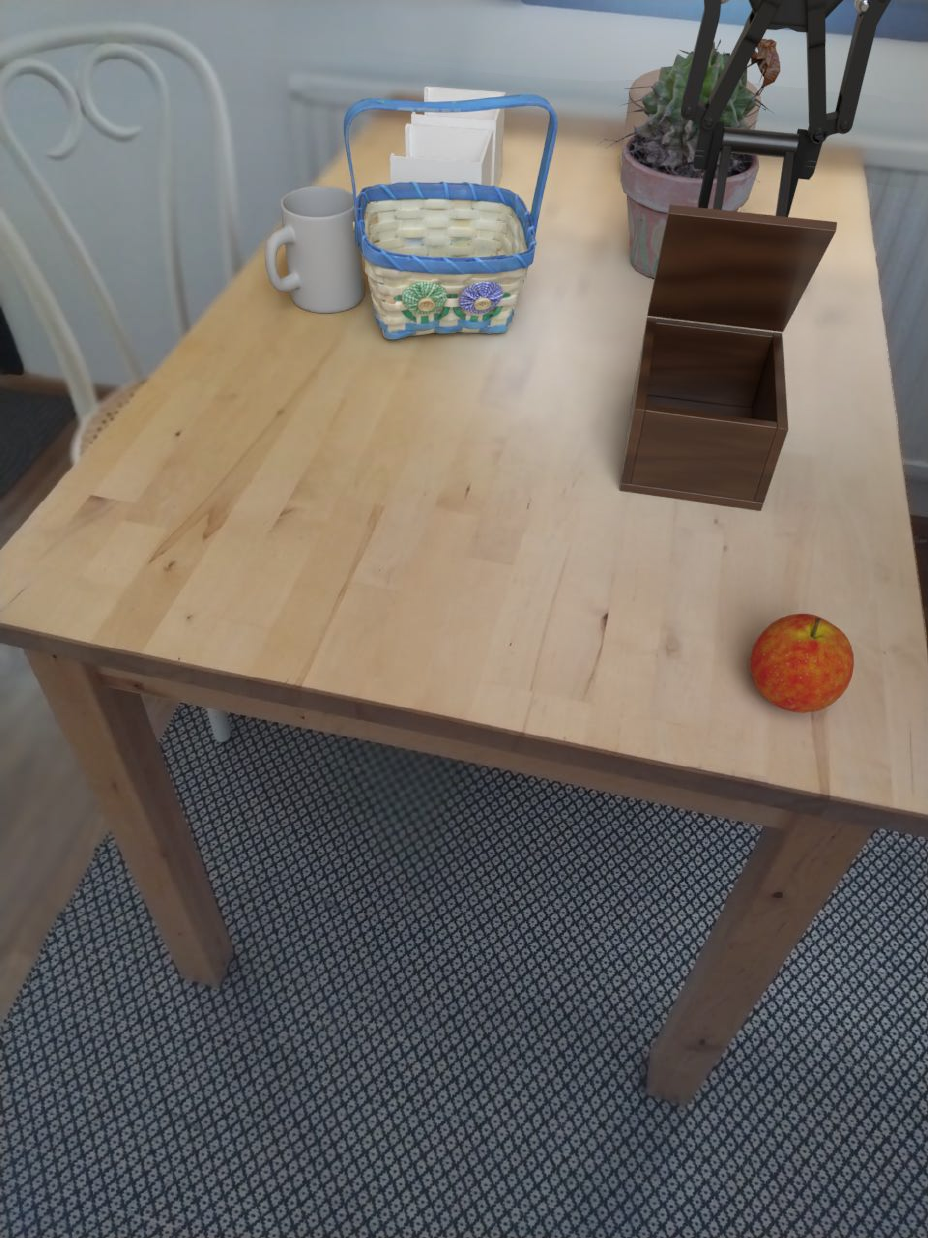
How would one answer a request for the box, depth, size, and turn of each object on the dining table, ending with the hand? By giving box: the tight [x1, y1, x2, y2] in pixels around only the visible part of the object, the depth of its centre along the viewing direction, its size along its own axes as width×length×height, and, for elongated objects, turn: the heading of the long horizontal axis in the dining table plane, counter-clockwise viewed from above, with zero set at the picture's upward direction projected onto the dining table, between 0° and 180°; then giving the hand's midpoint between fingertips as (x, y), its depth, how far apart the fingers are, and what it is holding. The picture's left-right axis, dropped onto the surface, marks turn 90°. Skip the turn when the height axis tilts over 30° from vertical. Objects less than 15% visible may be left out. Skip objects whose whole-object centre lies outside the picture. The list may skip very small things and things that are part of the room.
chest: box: [619, 316, 789, 511], centre depth 86 cm, size 16×13×9 cm
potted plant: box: [597, 38, 781, 279], centre depth 106 cm, size 18×20×25 cm
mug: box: [264, 185, 365, 314], centre depth 103 cm, size 12×8×11 cm
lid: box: [646, 127, 838, 333], centre depth 80 cm, size 17×13×10 cm
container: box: [620, 68, 762, 164], centre depth 130 cm, size 18×18×12 cm
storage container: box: [389, 86, 507, 247], centre depth 121 cm, size 25×11×11 cm, turn 172°
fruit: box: [749, 613, 855, 714], centre depth 66 cm, size 7×7×8 cm
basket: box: [343, 93, 558, 340], centre depth 96 cm, size 21×16×24 cm
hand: (741, 210), depth 80 cm, fingers closed on lid, 6 cm apart
